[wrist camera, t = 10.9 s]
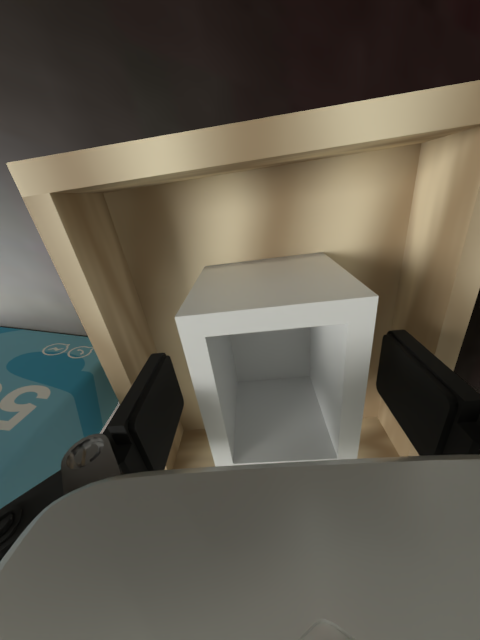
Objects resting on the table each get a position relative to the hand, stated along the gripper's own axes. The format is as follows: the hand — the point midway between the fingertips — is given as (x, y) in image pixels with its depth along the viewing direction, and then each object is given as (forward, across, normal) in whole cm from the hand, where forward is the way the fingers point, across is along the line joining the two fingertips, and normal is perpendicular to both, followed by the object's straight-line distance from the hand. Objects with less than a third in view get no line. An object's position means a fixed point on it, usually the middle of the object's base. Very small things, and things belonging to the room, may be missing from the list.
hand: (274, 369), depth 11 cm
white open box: (+4, 0, 0) cm, 4 cm away
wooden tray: (+5, 0, 0) cm, 5 cm away
